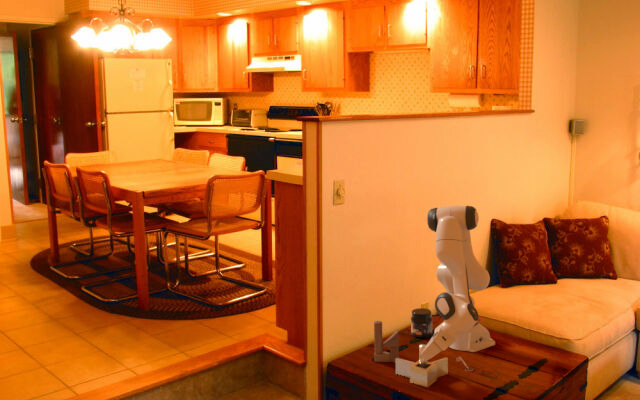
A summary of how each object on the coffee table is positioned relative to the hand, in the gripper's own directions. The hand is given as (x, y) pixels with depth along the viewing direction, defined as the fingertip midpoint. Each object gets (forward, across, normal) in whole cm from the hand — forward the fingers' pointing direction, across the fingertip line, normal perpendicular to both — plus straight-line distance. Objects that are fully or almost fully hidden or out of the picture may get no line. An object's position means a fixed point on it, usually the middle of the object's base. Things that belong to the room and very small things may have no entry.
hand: (421, 355), depth 255 cm
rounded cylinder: (+4, 0, +5) cm, 6 cm away
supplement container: (+17, -50, -1) cm, 53 cm away
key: (0, -22, +17) cm, 28 cm away
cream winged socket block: (+10, -5, +7) cm, 13 cm away
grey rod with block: (+22, -15, -6) cm, 27 cm away
